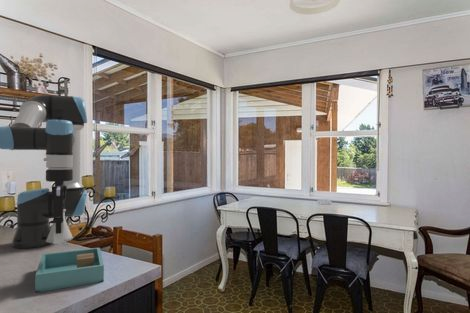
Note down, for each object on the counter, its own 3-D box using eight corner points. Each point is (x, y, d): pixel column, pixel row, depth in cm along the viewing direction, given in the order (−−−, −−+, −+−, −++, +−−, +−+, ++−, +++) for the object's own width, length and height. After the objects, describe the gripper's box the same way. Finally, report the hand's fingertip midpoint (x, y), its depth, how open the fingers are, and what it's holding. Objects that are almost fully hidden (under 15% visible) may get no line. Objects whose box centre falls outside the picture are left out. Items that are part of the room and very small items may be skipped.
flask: (40, 243, 98) (41, 211, 98) (58, 237, 105) (58, 207, 105) (61, 244, 97) (61, 212, 97) (77, 238, 104) (77, 208, 104)
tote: (42, 268, 108) (42, 254, 108) (99, 261, 116) (99, 247, 116) (35, 292, 90) (35, 275, 90) (103, 281, 98) (103, 265, 98)
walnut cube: (77, 269, 105) (77, 254, 105) (93, 267, 108) (93, 252, 108) (76, 275, 101) (76, 259, 101) (93, 272, 103) (94, 257, 103)
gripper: (48, 167, 108) (48, 233, 108) (42, 170, 90) (42, 250, 90) (73, 167, 111) (73, 231, 112) (72, 170, 93) (71, 247, 93)
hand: (59, 239), depth 101 cm, fingers closed on flask, 8 cm apart
